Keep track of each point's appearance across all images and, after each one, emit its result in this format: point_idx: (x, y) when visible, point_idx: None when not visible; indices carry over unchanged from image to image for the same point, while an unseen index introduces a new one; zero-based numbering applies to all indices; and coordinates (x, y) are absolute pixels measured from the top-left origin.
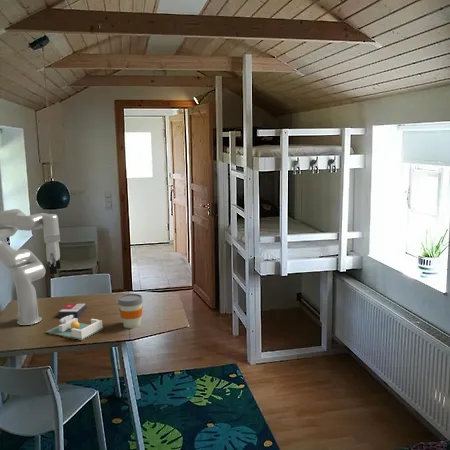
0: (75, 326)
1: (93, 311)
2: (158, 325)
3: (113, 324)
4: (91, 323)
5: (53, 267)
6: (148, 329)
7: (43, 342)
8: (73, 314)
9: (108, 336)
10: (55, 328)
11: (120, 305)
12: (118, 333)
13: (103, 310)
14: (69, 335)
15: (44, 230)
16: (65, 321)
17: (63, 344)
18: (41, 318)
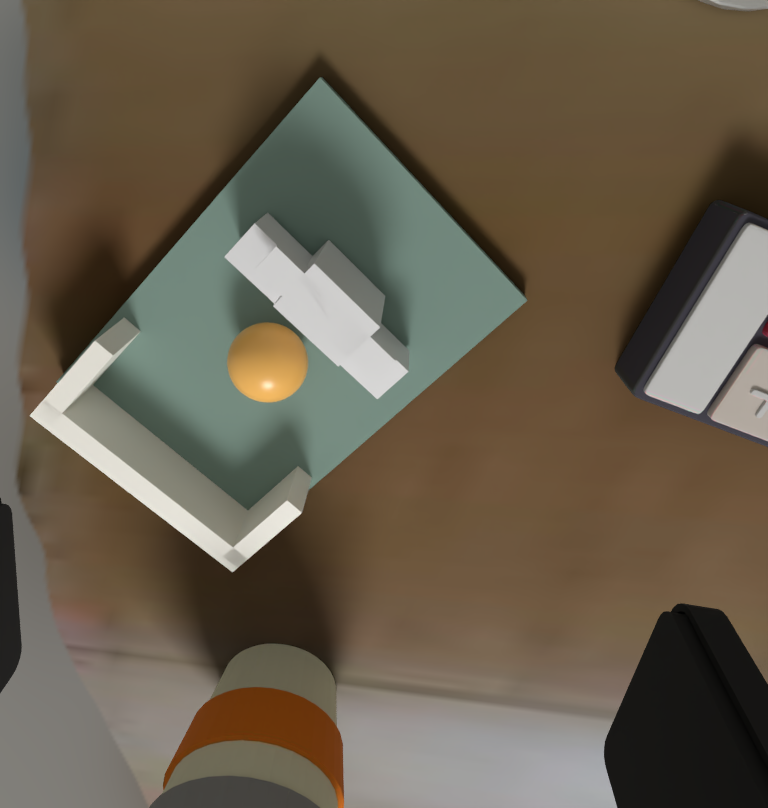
0: (227, 366)
1: (701, 499)
2: None
3: (326, 594)
4: (289, 483)
5: None
6: (165, 743)
7: (101, 60)
8: (642, 351)
9: (110, 544)
10: (370, 174)
11: (184, 783)
12: (147, 601)
13: (676, 567)
14: (156, 297)
15: None
16: (280, 296)
17: (23, 241)
18: (753, 7)
